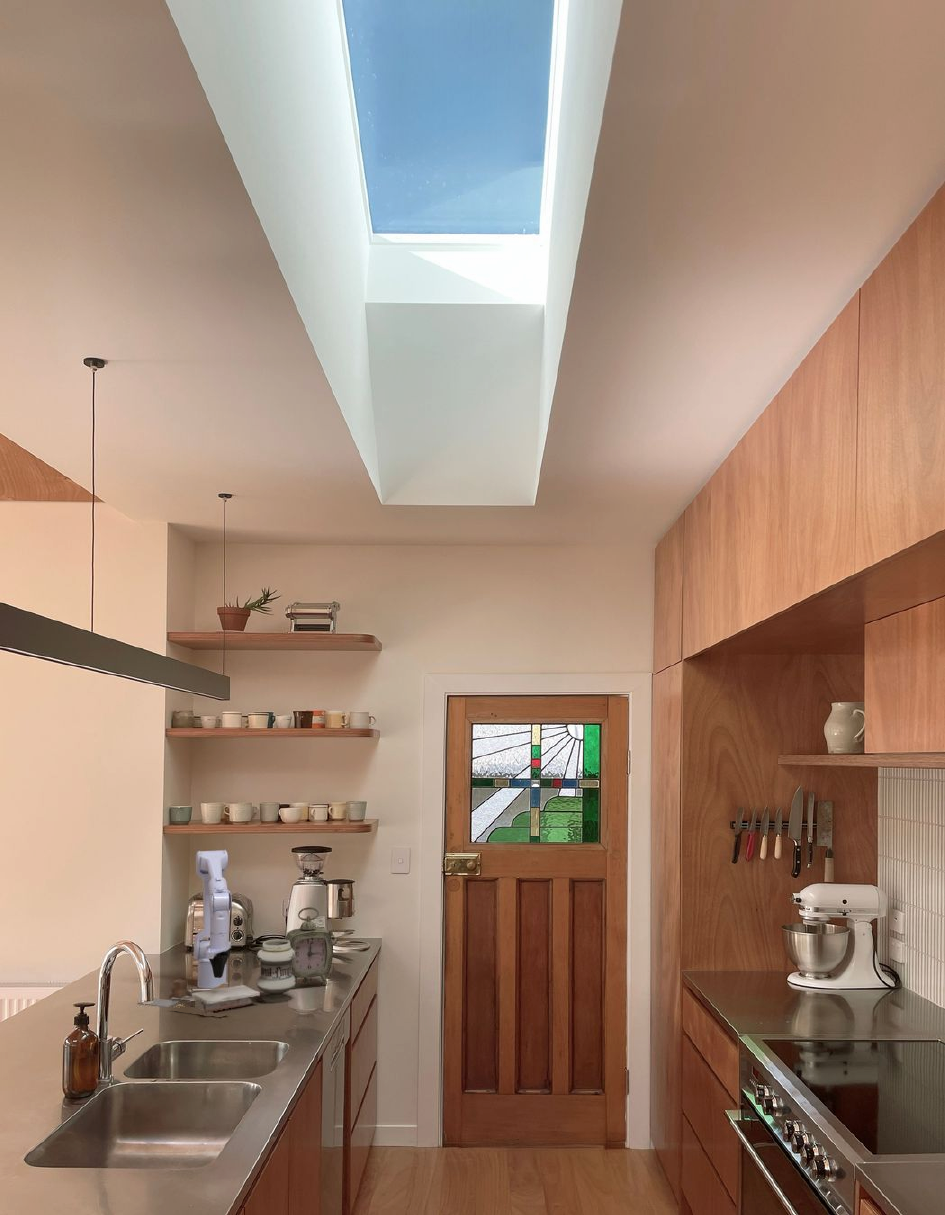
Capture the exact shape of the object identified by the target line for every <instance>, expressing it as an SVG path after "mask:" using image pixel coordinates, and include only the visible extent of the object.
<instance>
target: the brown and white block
mask: <svg viewBox="0 0 945 1215" xmlns="http://www.w3.org/2000/svg"><path fill="white" fill-rule="evenodd" d="M171 988H172V990H171V992H172V993H171V994H172V995H171V998H170V1000H172V999H181V1000H190V1001H189V1002H191V1001H195V999H194V998H192V995H187V980H186V979H179V978H178V979H176V980H174V981H172V987H171ZM181 1000H180V1001H181Z"/></svg>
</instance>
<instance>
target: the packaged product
mask: <svg viewBox="0 0 945 1215" xmlns="http://www.w3.org/2000/svg"><path fill="white" fill-rule="evenodd" d="M260 995H261V993H260V991H257V990H254V989H253V988H250V987H249V986H247V985H245V984H241V985H236V986H230V987H229V986H228V987H222V988H221V987H217V988H212V989H208V990H203V991H199V992H193V993H192V994H191V996H192V998H194V999H195V1002H194V1006H195V1009H197V1010H199V1011H202V1012H205V1013H207V1012H213V1011H215V1012H219V1011H218V1010H220V1011H224V1010H223V1009H225V1010H230V1009H229V1008H231V1009H235V1008H240V1007H243V1006H244V1007H245V1006H249V1005H252V1003H253V1001H252V999H251V998H253V997H260Z"/></svg>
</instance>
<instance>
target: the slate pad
mask: <svg viewBox="0 0 945 1215" xmlns="http://www.w3.org/2000/svg"><path fill="white" fill-rule="evenodd" d="M153 998H154V1000H153V1003H151V1004H145V1005H144V1004H143V1002H142V1001H143V1000H140V1001H138V1002H137V1003H136V1004H137V1005H139V1006H142V1005H143V1006H152V1007H159V1008H160V1007H162V1008H163V1007H164V1008H169V1007H172V1006H174V1004H175V1005H177V1004H179V1003H180V1000H172V999H162V998H155V997H153ZM178 1002H179V1003H178ZM176 1003H177V1004H176ZM171 1005H172V1006H171Z"/></svg>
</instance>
